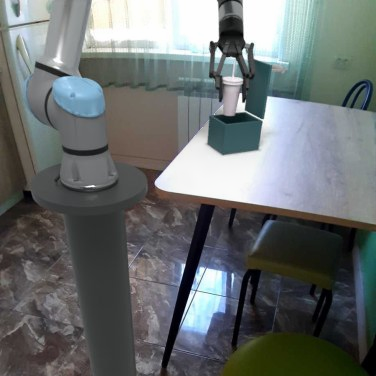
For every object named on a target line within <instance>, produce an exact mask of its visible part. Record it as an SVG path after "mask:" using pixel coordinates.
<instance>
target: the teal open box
mask: <svg viewBox="0 0 376 376" xmlns="http://www.w3.org/2000/svg"><path fill="white" fill-rule="evenodd" d="M262 129H263V119H260V118H258V117H256V116H254V115H252V114H251V113H249V112H247V111H241V112H236V113H235V115H234V116H226V115H224V114H223V113H222V114H221V113H220V114H212V115H211V114H210V115H209V116H208V131H207V145H208V146H210V148H212V149H214V150H215V151H217V152H218V153H220V154H221V155H223V156H224V155H230V154H237V153H245V152H252V151H258V150H259V149H260V141H261V137H262V136H261V135H262Z"/></svg>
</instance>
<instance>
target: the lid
mask: <svg viewBox="0 0 376 376" xmlns="http://www.w3.org/2000/svg"><path fill="white" fill-rule="evenodd" d="M254 64H255V76H254V78H253V80H251V79H250V80H249V89H248V91H246V100H245V103H244V112H246V113H248V114H250V115H252V116H254V117H256V118H258V119H260V120H264V119H265V115H266V109H267V103H268V97H269V96H268V95H269V89H270V82H271V78H272V77H271V76H272V73H278V74H279V73H280V74H282V75H283V74H285V73H286V71H287V68H286V67H285V66H283V65H280V64H277V63H273V64H270V63H267V62H264V61H262V60H258V59H255V58H254Z"/></svg>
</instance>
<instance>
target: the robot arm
mask: <svg viewBox="0 0 376 376" xmlns="http://www.w3.org/2000/svg"><path fill="white" fill-rule="evenodd" d="M216 2H217V9H218V10H217V11H218V13H217V14H218V39H217V41H214V40H210V41H209V45H208V52H209V55H210V56H209V70H208V78H209V79H214V88H215V91H218V103H223V81H222V78H223V75H221V73H222V71H223V68H224V64H225V62H226V59H227V58H234V59H235V61H236V63H237V65H238V67H239V70H240V73H241V76H242V79H243V84H242V85H241V103H242V104H245V102H246V94H247V91H248V89H249V80H250V79H251V80H253V78H254V76H255V64H254V59H255V56H254V47H255V43H254V42H250V43H247V42H246V40H245V30H244V5H243V4H244V0H216ZM92 3H93V0H52V1H51V6H50V7H51V8H50V13H49V19H48V25H47V31H46V38H45V44H44V49H43V53H42V56H40V57H38V58H37V59H35V61H34V69H33V72H32V73H31V74H30V75H28V76H27V77H26V79H25V81H24V83H23V86H22V97H23V101H24V104H25V107H26V109H27V111H28V112H29V113H30V115H31V116H33V118H35V119H36V120H37V121H38V122H39V123H41V124H42V125H45V126H48V127H50V128H52V129H54V130H56V131H58V132H59V137H60V144H61V149H62V158H61V163H60V164H61V170H60V174H59V175H58V176H57V177H56V178H55V179H54V181H55V182H57V181H58V180H59V179H60V181H61V184H62V186H63V187H65V188H66V189H69V190H71V191H76V192H85V193H90V192H99V191H104V190H107V189H110V188H112V187H114V186H115V185H116V184H117V183H118V173H117V170H116V167H115V165H114V162H113V161H114V160H113V157H112V155H111V153H110V148H109V137H108V126H107V125H108V124H107V114H106V107H107V106H106V101H105V95H104V91H103V88H102V86H101V85H100V84H99V83H98V82H96V81H95V80H93V79H91V78H87V77H82V75H81V73H80V71H79V66H80V61H81V57H82V52H83V48H84V47H83V46H84V44H85V43H84V42H85V37H86V32H87V27H88V22H89V17H90V12H91V7H92ZM217 49H219V51H220V53H221V57H220V59H219V62H218V65H217V69H216V71H215V62H216V61H215V60H216V51H218V50H217ZM244 50H245V53H246V54H247V55H246V58H247V62H246V60H245V58H244V55H243V51H244ZM247 65H248V67H247Z"/></svg>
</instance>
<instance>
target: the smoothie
mask: <svg viewBox="0 0 376 376" xmlns="http://www.w3.org/2000/svg"><path fill="white" fill-rule="evenodd" d="M236 63H237V61H236V60H233V64H232V74H231V76H224V77H223V76H222V81H223V98H222V111H223V112H222V114H224V115H226V116H234V115H235V113H237V108H238V103H239V99H240V93H241V91H242V84H243V77H237V76H235V71H236Z"/></svg>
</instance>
